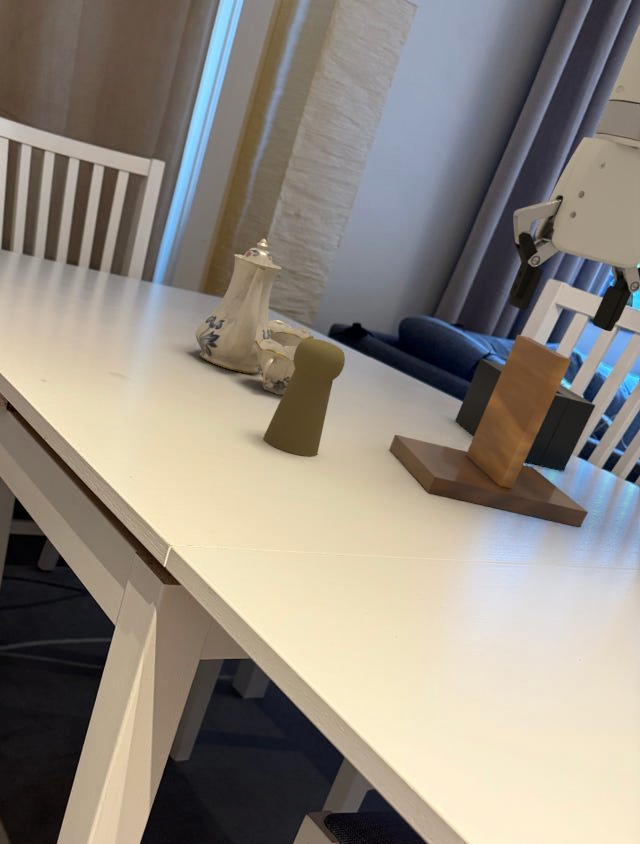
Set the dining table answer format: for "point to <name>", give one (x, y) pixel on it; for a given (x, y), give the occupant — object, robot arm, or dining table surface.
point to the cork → (306, 398)
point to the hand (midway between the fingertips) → (559, 317)
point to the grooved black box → (557, 426)
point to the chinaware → (251, 325)
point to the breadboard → (484, 482)
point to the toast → (517, 409)
